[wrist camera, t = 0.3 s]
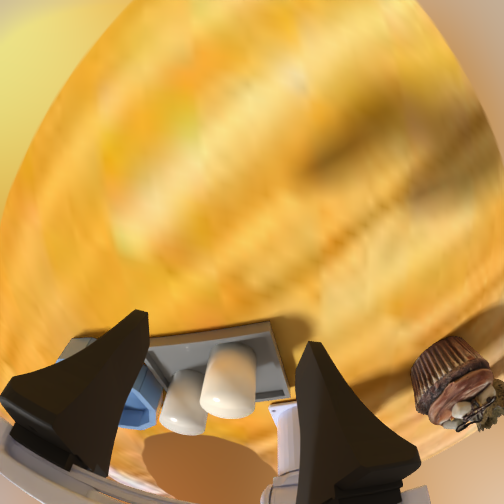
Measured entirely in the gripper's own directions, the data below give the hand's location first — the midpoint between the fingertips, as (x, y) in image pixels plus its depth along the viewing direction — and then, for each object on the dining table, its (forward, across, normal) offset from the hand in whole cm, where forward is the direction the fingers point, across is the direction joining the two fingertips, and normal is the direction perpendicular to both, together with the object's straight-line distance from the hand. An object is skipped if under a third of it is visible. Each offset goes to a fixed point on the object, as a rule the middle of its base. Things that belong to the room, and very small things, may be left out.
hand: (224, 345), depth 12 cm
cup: (+10, -40, +15) cm, 43 cm away
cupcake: (+10, -25, +10) cm, 29 cm away
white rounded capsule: (+9, -1, +11) cm, 14 cm away
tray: (+10, 0, +13) cm, 16 cm away
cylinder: (+9, +3, +16) cm, 19 cm away
